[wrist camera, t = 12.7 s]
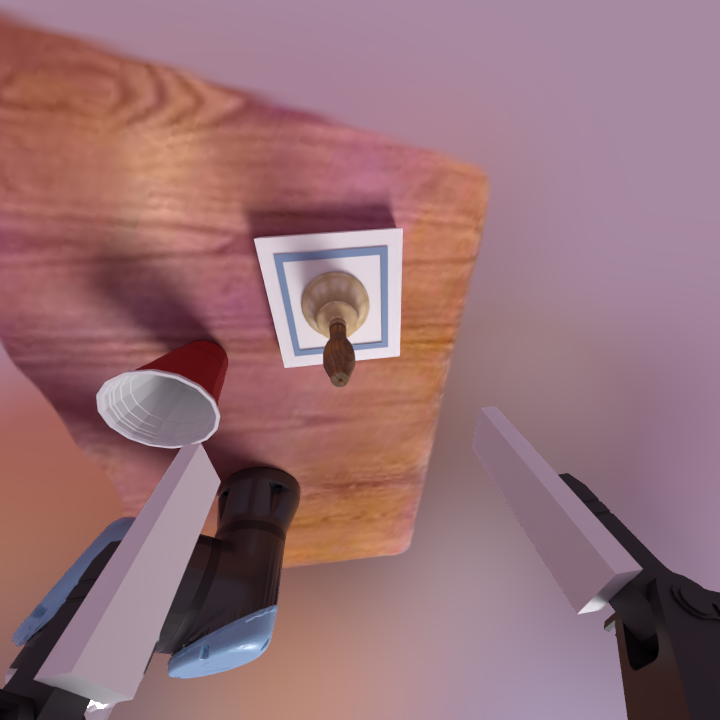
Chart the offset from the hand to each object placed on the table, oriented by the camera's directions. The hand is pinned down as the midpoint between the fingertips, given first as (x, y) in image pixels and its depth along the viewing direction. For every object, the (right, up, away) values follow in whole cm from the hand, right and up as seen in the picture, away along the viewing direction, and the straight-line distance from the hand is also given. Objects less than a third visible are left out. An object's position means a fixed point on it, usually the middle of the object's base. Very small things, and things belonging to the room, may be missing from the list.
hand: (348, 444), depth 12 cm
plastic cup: (-21, +4, +24) cm, 32 cm away
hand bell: (-2, +11, +19) cm, 22 cm away
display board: (-3, +12, +21) cm, 25 cm away
